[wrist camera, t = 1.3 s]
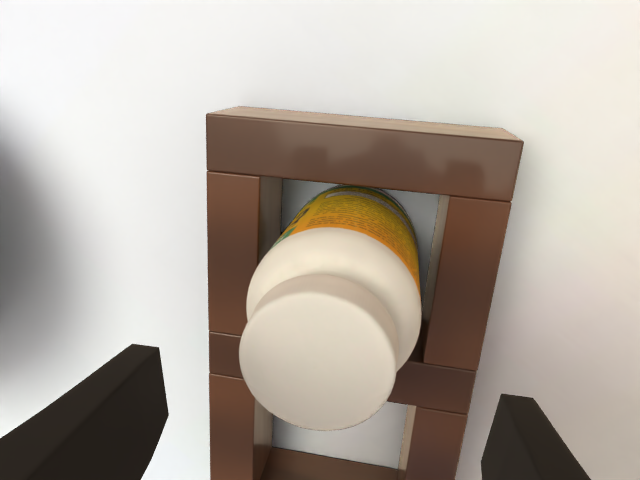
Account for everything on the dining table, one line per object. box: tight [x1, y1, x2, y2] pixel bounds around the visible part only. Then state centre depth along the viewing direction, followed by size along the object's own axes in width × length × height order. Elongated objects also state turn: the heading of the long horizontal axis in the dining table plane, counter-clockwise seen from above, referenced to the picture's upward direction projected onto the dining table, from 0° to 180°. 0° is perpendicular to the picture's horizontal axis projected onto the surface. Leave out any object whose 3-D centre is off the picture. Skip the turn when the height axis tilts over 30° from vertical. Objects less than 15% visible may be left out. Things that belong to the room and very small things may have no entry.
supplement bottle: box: [239, 185, 421, 431], centre depth 17 cm, size 5×5×10 cm
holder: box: [206, 106, 524, 480], centre depth 21 cm, size 19×10×4 cm, turn 176°
